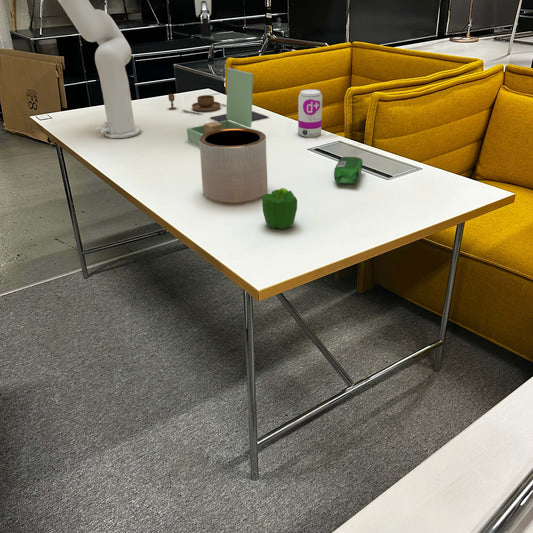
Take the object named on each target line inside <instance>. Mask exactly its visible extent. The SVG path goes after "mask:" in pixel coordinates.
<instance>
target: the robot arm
mask: <svg viewBox="0 0 533 533" xmlns="http://www.w3.org/2000/svg"><path fill="white" fill-rule="evenodd" d="M57 1H58V2H59V5H60V6H61V7H62V9H63V10H64V12H65V14H66V15H67V16H68V18H69V19H70V21H71V22H72V24H73V26H74V27H75V29H76V30H77V31H78V33H79V35H80V36H81V37H82V38H83V39H84V41H87V42H90V43H95V42H96V43H97V44H98V47H97V48H96V50H95V53H94V62H95V63H94V64H95V66H96V69H97V73H98V76H99V77H98V78H99V81H100V87H101V92H102V99H103V104H104V105H103V106H104V110H105V118H106V121H104V124H102V125H98V126H94V131H95V133H100V132H101V134H103V133H104V136H105V137H107V138H111V139H125V138H126V139H127V138H131V137H134V136H137V135H139V134H140V131H141V130H140V128H139V127H137V126H136V125H135V119H134V118H135V117H134V111H133V104H132V96H131V89H130V82H129V78H128V73H127V71H126V65H127V64H129V63H130V61H131V59H132V48H131V46H130V44H129V42H128V40H127V39H126V38H125V36H124V34H123V33H122V31H121V29H119V27H118V25H117V24H116V22H115V21H114V19H113V18H112V17H111V16H110V14H109V13H108V12H106V11H105V10H102V9H96V8H95V7H94V6H93V5H92V3H91V2H90V1H89V0H57ZM194 7H195V15H196V17H197V18H198V17H199V15H200V20H199V21H200V34H201V37H202V38H206V37H212V24H211V20H210V16H211V15H212V0H194Z"/></svg>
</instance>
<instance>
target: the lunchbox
mask: <svg viewBox="0 0 533 533" xmlns="http://www.w3.org/2000/svg"><path fill="white" fill-rule="evenodd" d="M217 122H218V123H220V124H222V129H224V128H248V129H250V128H249V127H247V126H244V125H241V124H239V123H236V122H233V121H231V120H226V121H221V122H219V121H217ZM186 133H187V140H188V141H189V142H191V143H193V144H195V145H197V146H200V144H199V138H200V136H201V135H203V134H205V127H204V124H201V125H197V126H193V127H188V128H186Z"/></svg>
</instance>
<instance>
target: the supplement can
mask: <svg viewBox="0 0 533 533" xmlns="http://www.w3.org/2000/svg"><path fill="white" fill-rule="evenodd" d="M297 98H298V101H297V102H298V105H297V106H298V108H297V110H298V111H297V116H298V117H297V133H298V134H299V136H301V137H304V138H315V137H319V136H320V135H321V134H322V123H323V120H322V118H323V114H322V113H323V94H322V92H321V90H319V89H315V88H313V89H311V88H310V89H309V88H308V89H307V88H306V89H301V90H300V92H299V94H298V97H297Z"/></svg>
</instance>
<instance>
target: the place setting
mask: <svg viewBox="0 0 533 533" xmlns="http://www.w3.org/2000/svg"><path fill="white" fill-rule="evenodd" d="M167 96H168V101H169V102H170V106H171V107H169V108H168V109H169V110H172V111H173V110H176V108H177V107H174V102H175V94H174V93H169V94H168V95H167ZM196 100H197V101H196V102H194V103H192V104H191V108H192V110H194V111H196V112H194V111H190V113H192V114H197V115H201V113H200V112H203V113H204V112H205V113H208V112H214V111H217V110H219V109H220V107H221V105H222V106H225V107H227V104H224V103H220V102H218V101H215V96H214V95H212V94H211V95H210V94H206V95H205V94H203V95H199V96H197V97H196ZM181 111H182V112H184V113H189V111H188V110H186V109H181Z"/></svg>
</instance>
